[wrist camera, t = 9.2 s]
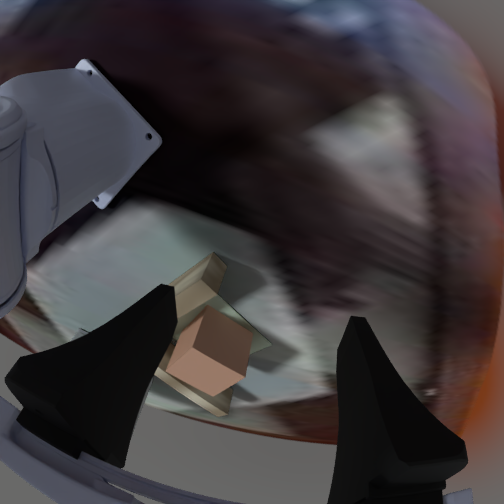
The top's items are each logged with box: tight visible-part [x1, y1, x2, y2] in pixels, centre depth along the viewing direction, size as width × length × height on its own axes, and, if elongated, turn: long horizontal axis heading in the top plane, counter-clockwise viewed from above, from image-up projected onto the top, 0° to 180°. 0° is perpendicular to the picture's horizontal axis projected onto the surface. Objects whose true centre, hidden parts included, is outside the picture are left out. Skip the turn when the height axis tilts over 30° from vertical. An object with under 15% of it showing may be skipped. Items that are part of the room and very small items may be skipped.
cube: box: [166, 305, 253, 396], centre depth 26 cm, size 5×5×5 cm
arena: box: [154, 252, 272, 417], centre depth 27 cm, size 15×13×4 cm
